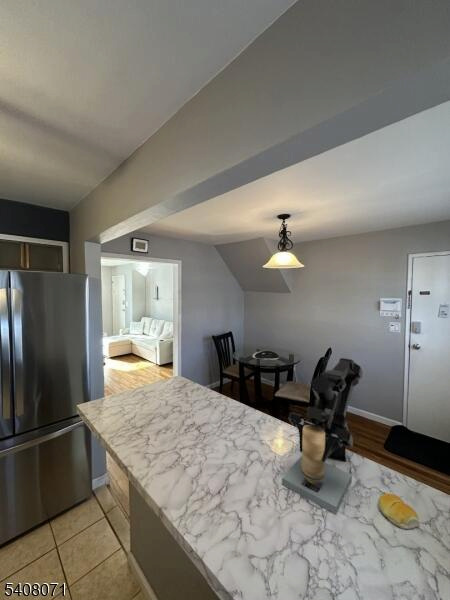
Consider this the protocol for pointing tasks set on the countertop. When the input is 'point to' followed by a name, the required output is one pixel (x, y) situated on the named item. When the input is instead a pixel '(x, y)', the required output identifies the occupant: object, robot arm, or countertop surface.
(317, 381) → the robot arm
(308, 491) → the slate board
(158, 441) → the countertop surface
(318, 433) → the oak leg
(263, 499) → the countertop surface
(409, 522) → the bread roll
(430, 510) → the countertop surface
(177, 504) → the countertop surface
